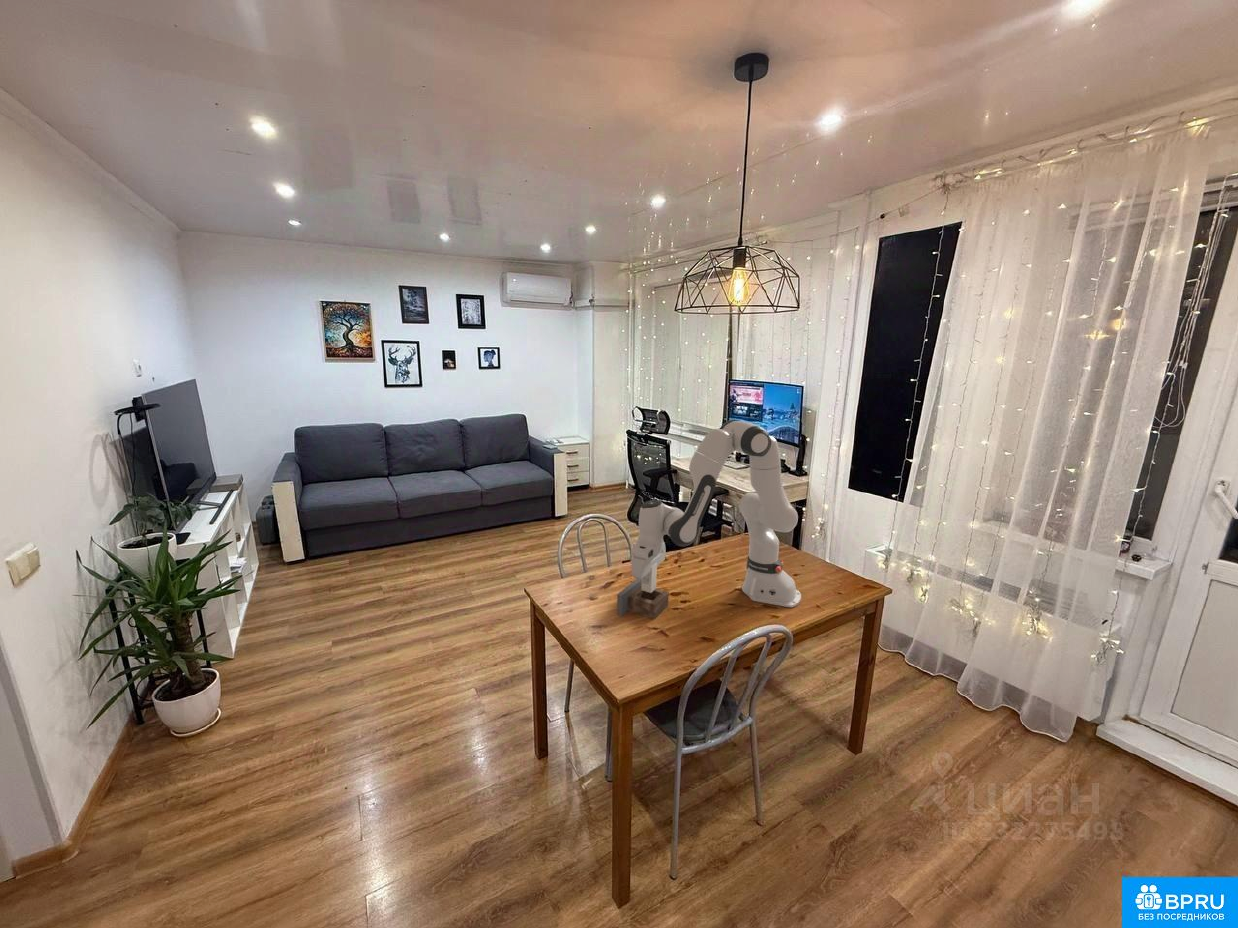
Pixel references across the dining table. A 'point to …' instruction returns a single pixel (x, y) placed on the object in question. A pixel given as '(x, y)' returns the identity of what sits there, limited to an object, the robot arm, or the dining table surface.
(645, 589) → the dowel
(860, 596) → the dining table surface
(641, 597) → the brown square open box
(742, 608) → the dining table surface
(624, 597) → the wall
